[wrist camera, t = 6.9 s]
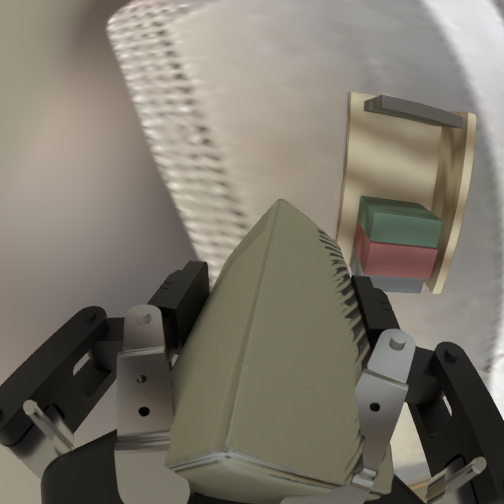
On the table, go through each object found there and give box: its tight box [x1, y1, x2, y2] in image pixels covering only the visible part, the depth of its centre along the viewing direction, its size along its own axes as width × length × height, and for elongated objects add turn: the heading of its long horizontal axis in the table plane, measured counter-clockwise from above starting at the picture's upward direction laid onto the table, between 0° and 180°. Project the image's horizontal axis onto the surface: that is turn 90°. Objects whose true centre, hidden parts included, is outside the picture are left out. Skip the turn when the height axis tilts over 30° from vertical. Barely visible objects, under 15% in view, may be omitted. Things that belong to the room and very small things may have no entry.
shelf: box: [336, 92, 476, 294], centre depth 27 cm, size 21×13×8 cm, turn 179°
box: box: [164, 199, 394, 504], centre depth 10 cm, size 5×4×13 cm
